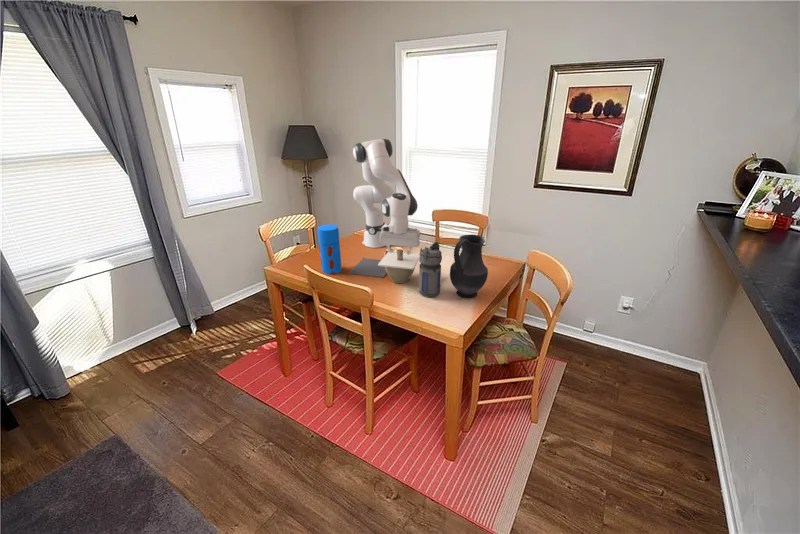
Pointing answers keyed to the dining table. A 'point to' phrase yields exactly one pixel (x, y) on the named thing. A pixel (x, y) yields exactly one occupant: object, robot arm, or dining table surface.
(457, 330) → the dining table surface
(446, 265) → the dining table surface
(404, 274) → the planter bowl
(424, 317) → the dining table surface
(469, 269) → the pitcher
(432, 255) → the beverage bottle
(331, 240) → the blue slotted cylinder
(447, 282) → the dining table surface
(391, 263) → the lid
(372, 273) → the mat
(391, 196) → the robot arm
